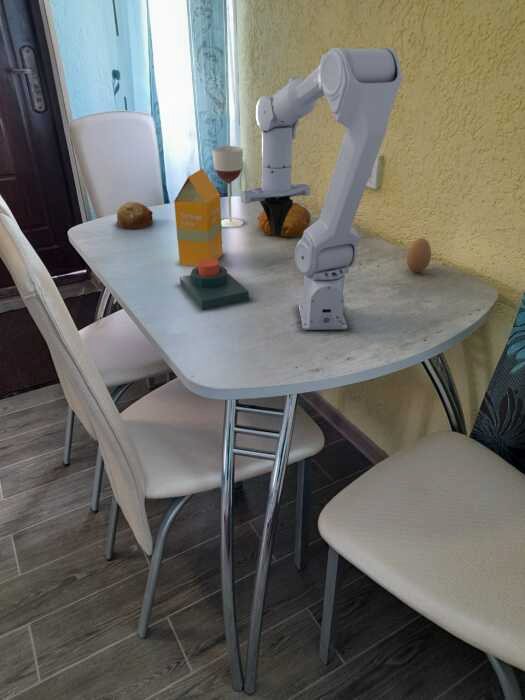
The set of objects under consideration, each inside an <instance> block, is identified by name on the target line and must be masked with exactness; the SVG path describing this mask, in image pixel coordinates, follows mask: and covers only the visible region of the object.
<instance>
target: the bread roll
mask: <svg viewBox="0 0 525 700" xmlns="http://www.w3.org/2000/svg"><path fill="white" fill-rule="evenodd" d="M153 214H154V213H153V211H152V210H151V209H150V207H147V205H145V204H144V203H141V202H139V201H126V202H124V203H122V205H120V206H119V208H118V209H117V212H116V225H118V227H120V228H122V229H124V230H136V229H137V230H139V229H143V228H146V227H148V226H150V225H152V223H153V221H154V220H153Z"/></svg>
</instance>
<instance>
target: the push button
mask: <svg viewBox="0 0 525 700" xmlns="http://www.w3.org/2000/svg"><path fill="white" fill-rule="evenodd" d="M220 266H221V264H220V261H219V259H218V260H216V259H203V260H200V261H199V262H198V266H197V267H198V274H199V275H201V276H215V275H218V274H220Z"/></svg>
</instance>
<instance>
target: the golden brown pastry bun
mask: <svg viewBox="0 0 525 700" xmlns="http://www.w3.org/2000/svg"><path fill="white" fill-rule="evenodd" d="M311 217H312V215H311V213H310V211H309V210H308V209H307V208H306V207H305V206H303V205H301V204H299V203H297V202H293V206H292V207H291V209H290V210H289V212H288V214H287V216H286V219H285V221H284V224H283V228H282V232H281V235H277V236H276V237H280V238H282V237H283V238H296V237H299V236H300V235H301V234H303V233H304V231H305V230H306V229H307V228H308V225H309V224H310V222H311ZM257 220H258V227H259V229H260V230H261V231H262V232H263V233H264V234H265V235H268V236H274V235H273V234H271V231H270V226H269V222H268V219H267V216H266V213H265V211H264V210H262V211H261V212H259V214H258V216H257Z"/></svg>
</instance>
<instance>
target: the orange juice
mask: <svg viewBox="0 0 525 700" xmlns="http://www.w3.org/2000/svg"><path fill="white" fill-rule="evenodd" d="M173 203H174V215H175V216H174V217H175V224H176V225H175V227H176V239H177V248H178V261H179V265H186V266H193V267H194V266H195V267H198V262H199V261H200V260H203V259H216V260H218V261H219V259H220V258H221V256H223V253H224V252H223V232H222V229H223V228H222V226H221V220H222V211H221V193H220V192H219V191H218V190H217V188H216V186H215V185H214V183H213V182H212V181H211V179H210V177H209V176H208V175H207V173H206V172H205V170H204V168H201V169H199V170H198V171H196V172H194V173H191V174H190V175H189V176H187V178H186V180H185V182H184V184H183V185H182V187H181V189H180V190H179V192H178V194H177V196H176V197H175V199H174V201H173Z"/></svg>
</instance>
